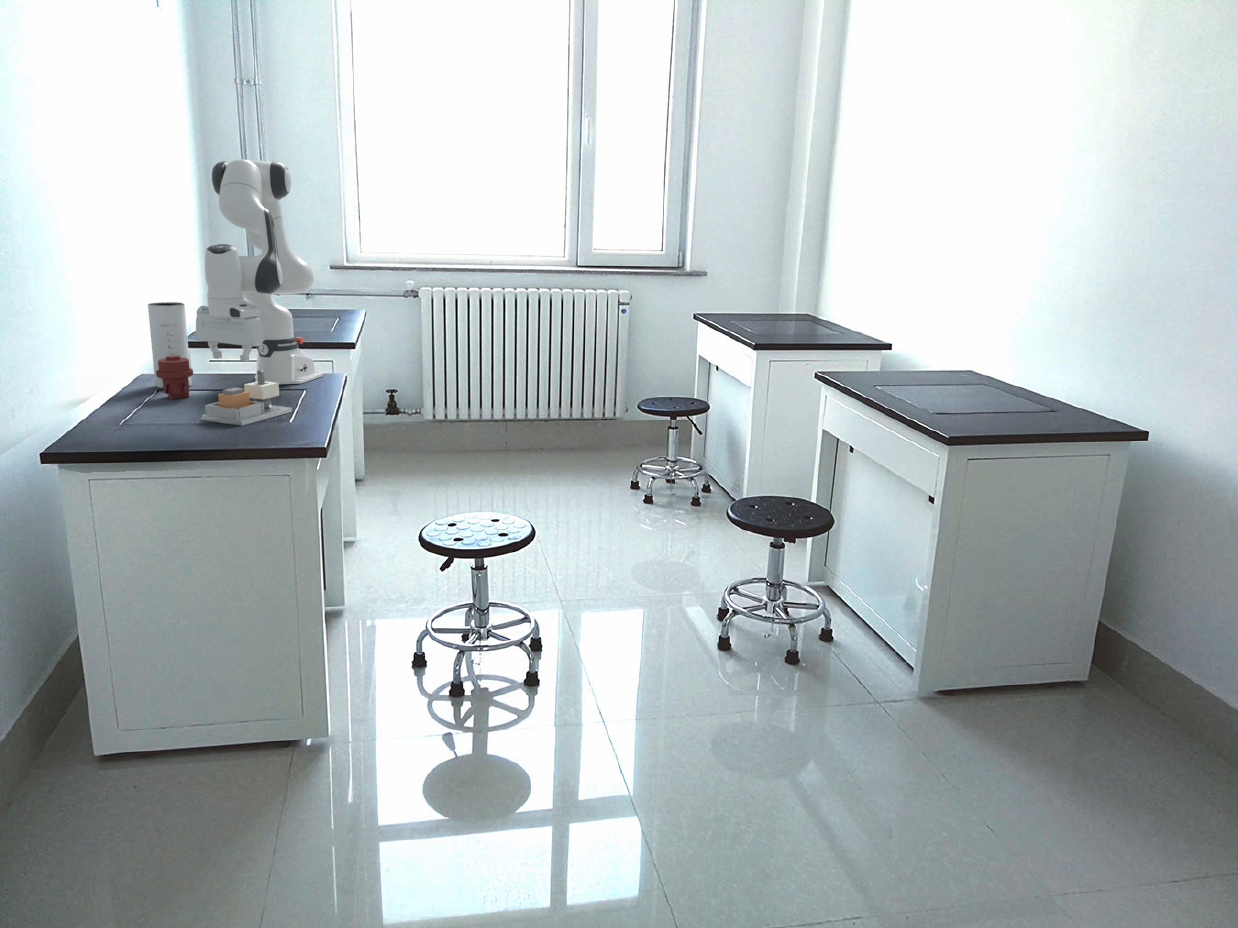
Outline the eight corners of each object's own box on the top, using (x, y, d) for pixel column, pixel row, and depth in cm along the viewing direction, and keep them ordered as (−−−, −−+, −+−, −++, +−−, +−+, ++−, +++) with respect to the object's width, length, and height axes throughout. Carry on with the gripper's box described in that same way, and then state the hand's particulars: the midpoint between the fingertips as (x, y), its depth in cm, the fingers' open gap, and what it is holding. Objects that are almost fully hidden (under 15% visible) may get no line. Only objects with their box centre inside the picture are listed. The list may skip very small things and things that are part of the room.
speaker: (194, 382, 310) (186, 300, 303) (190, 388, 300) (181, 304, 293) (158, 383, 307) (149, 300, 300) (152, 389, 297) (143, 304, 290)
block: (220, 415, 261) (217, 390, 259) (236, 411, 267) (234, 386, 265) (234, 417, 259) (232, 392, 258) (250, 413, 265) (248, 388, 263)
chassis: (253, 406, 278) (249, 366, 275) (291, 411, 273) (289, 371, 270) (202, 419, 261) (198, 377, 258) (242, 425, 256) (238, 382, 253)
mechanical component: (202, 395, 292) (181, 401, 282) (172, 393, 293) (151, 399, 284) (198, 354, 288) (177, 359, 279) (168, 352, 290) (146, 357, 281)
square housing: (261, 393, 275) (260, 380, 274) (279, 395, 273) (278, 382, 272) (245, 397, 270) (244, 384, 269) (263, 399, 267) (262, 386, 266)
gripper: (187, 306, 256) (192, 358, 260) (247, 312, 249) (252, 365, 253) (205, 303, 262) (210, 354, 266) (265, 309, 254) (269, 361, 258)
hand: (231, 359), depth 259 cm, fingers open, 8 cm apart
